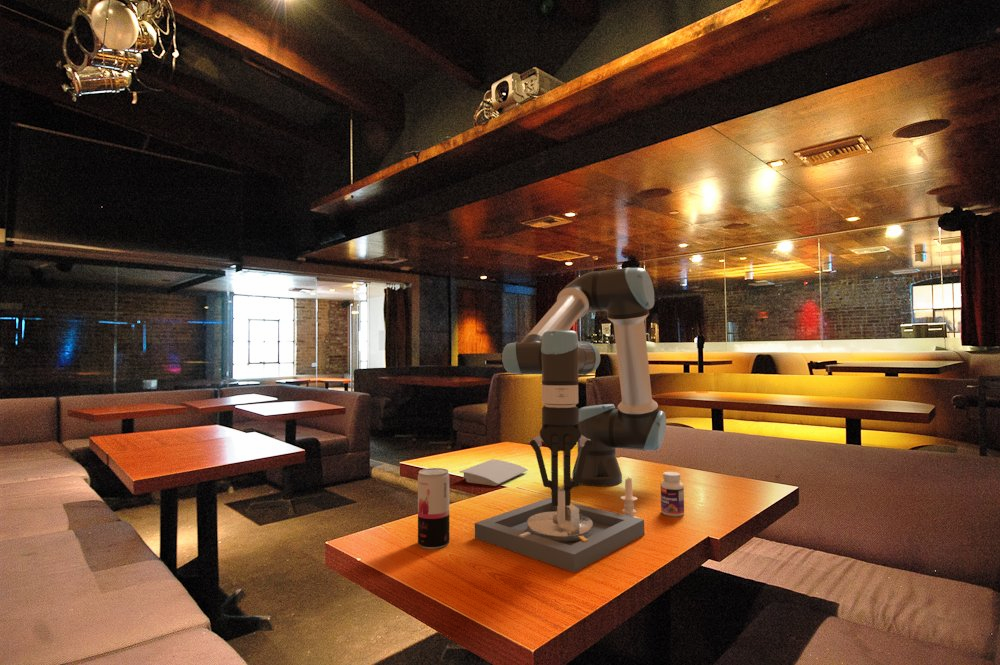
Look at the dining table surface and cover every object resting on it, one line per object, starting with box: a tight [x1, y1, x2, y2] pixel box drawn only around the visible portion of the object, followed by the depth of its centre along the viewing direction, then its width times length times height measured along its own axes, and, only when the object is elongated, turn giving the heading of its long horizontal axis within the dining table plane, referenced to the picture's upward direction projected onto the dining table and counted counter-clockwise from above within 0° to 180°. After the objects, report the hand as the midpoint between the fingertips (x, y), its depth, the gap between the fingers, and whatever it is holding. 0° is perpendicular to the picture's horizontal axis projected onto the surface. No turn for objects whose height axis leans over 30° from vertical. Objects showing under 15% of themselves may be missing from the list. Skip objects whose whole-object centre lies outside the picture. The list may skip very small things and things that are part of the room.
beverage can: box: [417, 467, 451, 550], centre depth 108 cm, size 7×6×15 cm
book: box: [459, 458, 529, 487], centre depth 165 cm, size 15×23×4 cm, turn 151°
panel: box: [474, 497, 645, 573], centre depth 111 cm, size 26×26×4 cm
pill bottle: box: [660, 471, 685, 517], centre depth 126 cm, size 5×5×10 cm
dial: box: [527, 502, 593, 543], centre depth 110 cm, size 16×14×7 cm
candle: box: [620, 476, 641, 519], centre depth 121 cm, size 5×5×10 cm
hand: (561, 521), depth 105 cm, fingers closed
